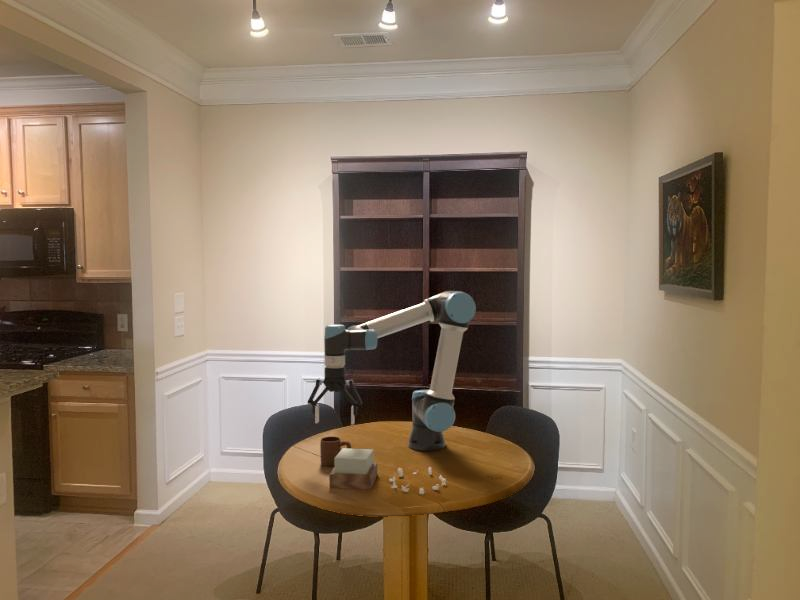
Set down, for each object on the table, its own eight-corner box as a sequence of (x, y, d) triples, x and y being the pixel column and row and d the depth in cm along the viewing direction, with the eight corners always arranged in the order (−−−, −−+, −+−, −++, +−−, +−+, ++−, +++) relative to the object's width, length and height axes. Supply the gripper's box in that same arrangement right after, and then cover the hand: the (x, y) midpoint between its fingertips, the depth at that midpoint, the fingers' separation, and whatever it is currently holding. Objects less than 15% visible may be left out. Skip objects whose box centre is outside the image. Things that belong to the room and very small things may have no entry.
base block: (377, 475, 206) (377, 461, 206) (371, 490, 192) (370, 475, 192) (338, 474, 207) (338, 460, 207) (329, 489, 194) (329, 474, 193)
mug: (355, 462, 218) (354, 437, 218) (347, 469, 211) (347, 443, 211) (325, 459, 222) (325, 435, 221) (317, 466, 215) (316, 441, 214)
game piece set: (380, 479, 202) (379, 468, 202) (431, 470, 210) (431, 460, 210) (403, 499, 184) (403, 487, 184) (458, 489, 192) (457, 477, 192)
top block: (373, 463, 204) (373, 449, 204) (366, 474, 193) (366, 459, 193) (343, 462, 206) (342, 448, 205) (334, 472, 195) (334, 458, 195)
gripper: (299, 367, 212) (299, 424, 213) (366, 368, 209) (366, 426, 211) (304, 364, 220) (305, 419, 221) (369, 365, 217) (369, 421, 218)
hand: (334, 423), depth 216 cm, fingers open, 13 cm apart
